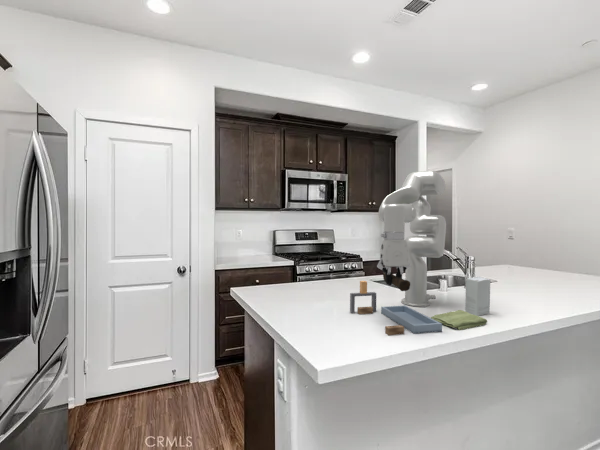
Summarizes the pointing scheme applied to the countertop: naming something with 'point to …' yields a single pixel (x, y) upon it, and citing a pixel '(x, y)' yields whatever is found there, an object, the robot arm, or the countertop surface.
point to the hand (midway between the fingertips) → (393, 283)
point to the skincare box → (477, 296)
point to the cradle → (388, 329)
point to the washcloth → (459, 319)
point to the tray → (411, 319)
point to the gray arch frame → (362, 293)
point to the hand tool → (399, 282)
